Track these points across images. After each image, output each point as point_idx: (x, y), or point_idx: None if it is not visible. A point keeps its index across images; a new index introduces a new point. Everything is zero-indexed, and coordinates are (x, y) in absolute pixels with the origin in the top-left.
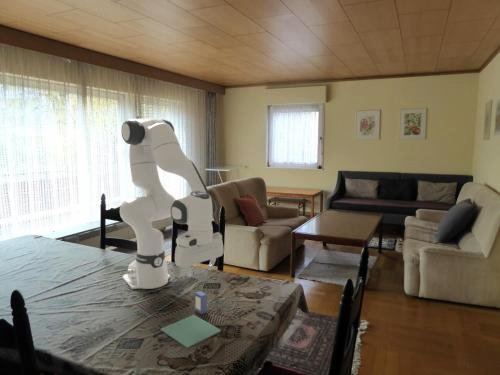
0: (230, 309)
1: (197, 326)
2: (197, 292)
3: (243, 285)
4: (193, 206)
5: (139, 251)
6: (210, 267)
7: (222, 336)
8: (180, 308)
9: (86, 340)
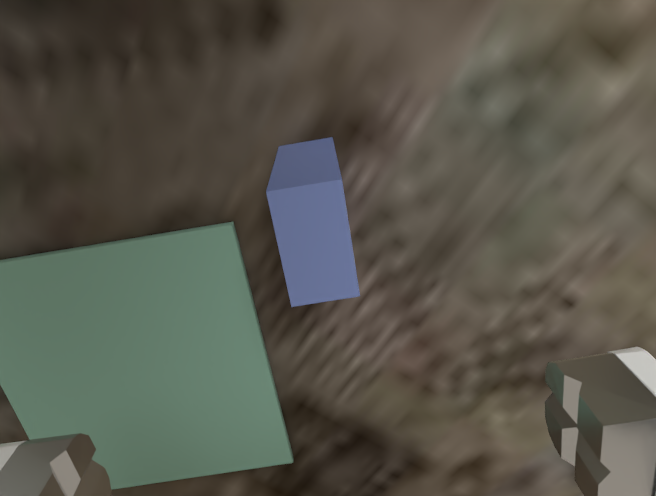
0: (509, 286)
1: (188, 369)
2: (297, 206)
3: None
4: None
5: None
6: (580, 483)
7: (273, 492)
8: (184, 38)
9: None
